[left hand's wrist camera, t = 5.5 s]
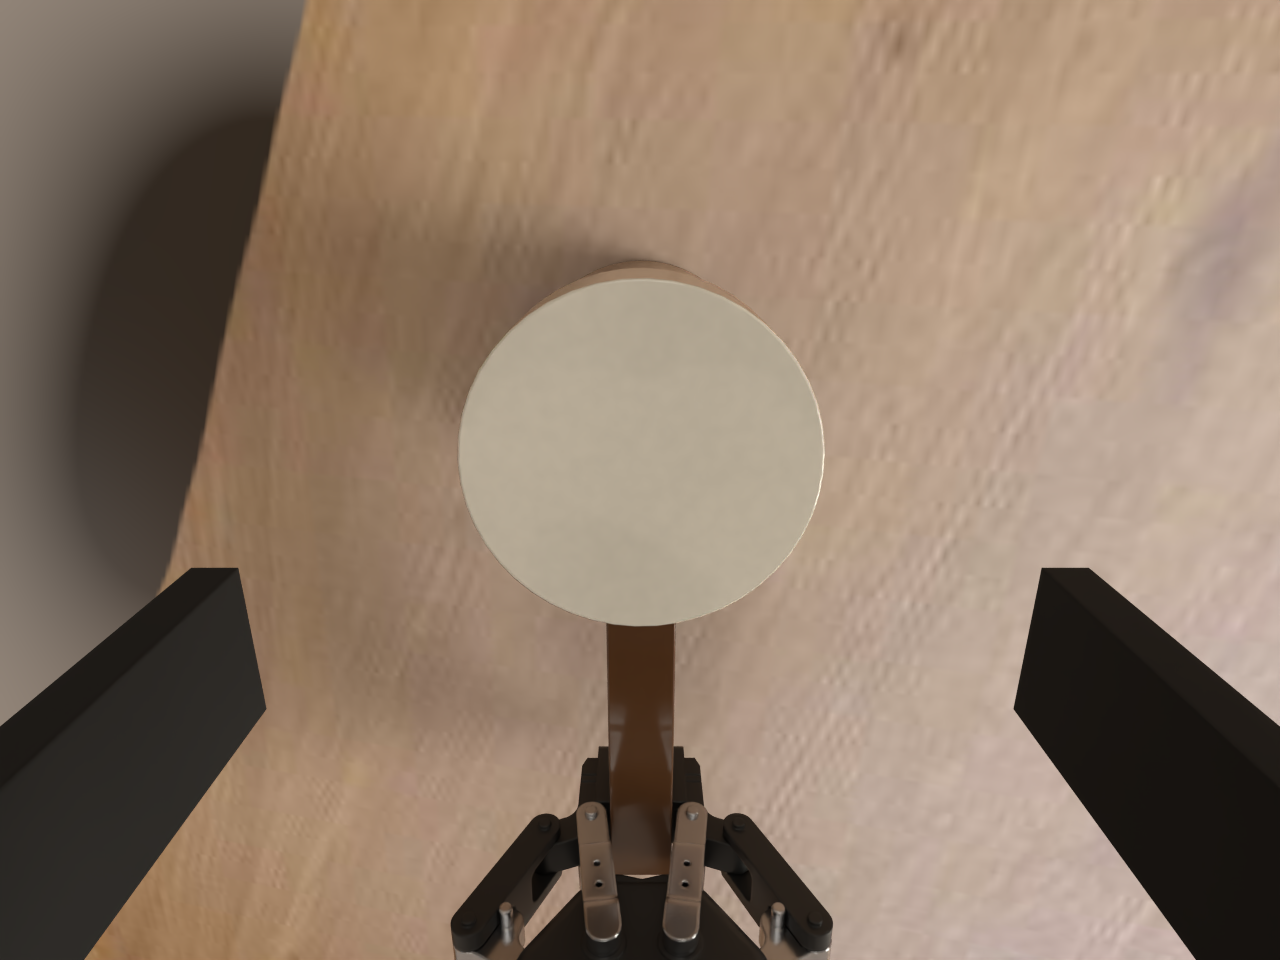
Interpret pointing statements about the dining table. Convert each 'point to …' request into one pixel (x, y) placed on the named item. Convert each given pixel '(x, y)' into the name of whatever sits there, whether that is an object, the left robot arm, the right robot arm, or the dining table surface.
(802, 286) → the dining table surface
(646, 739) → the mallet
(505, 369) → the lid
